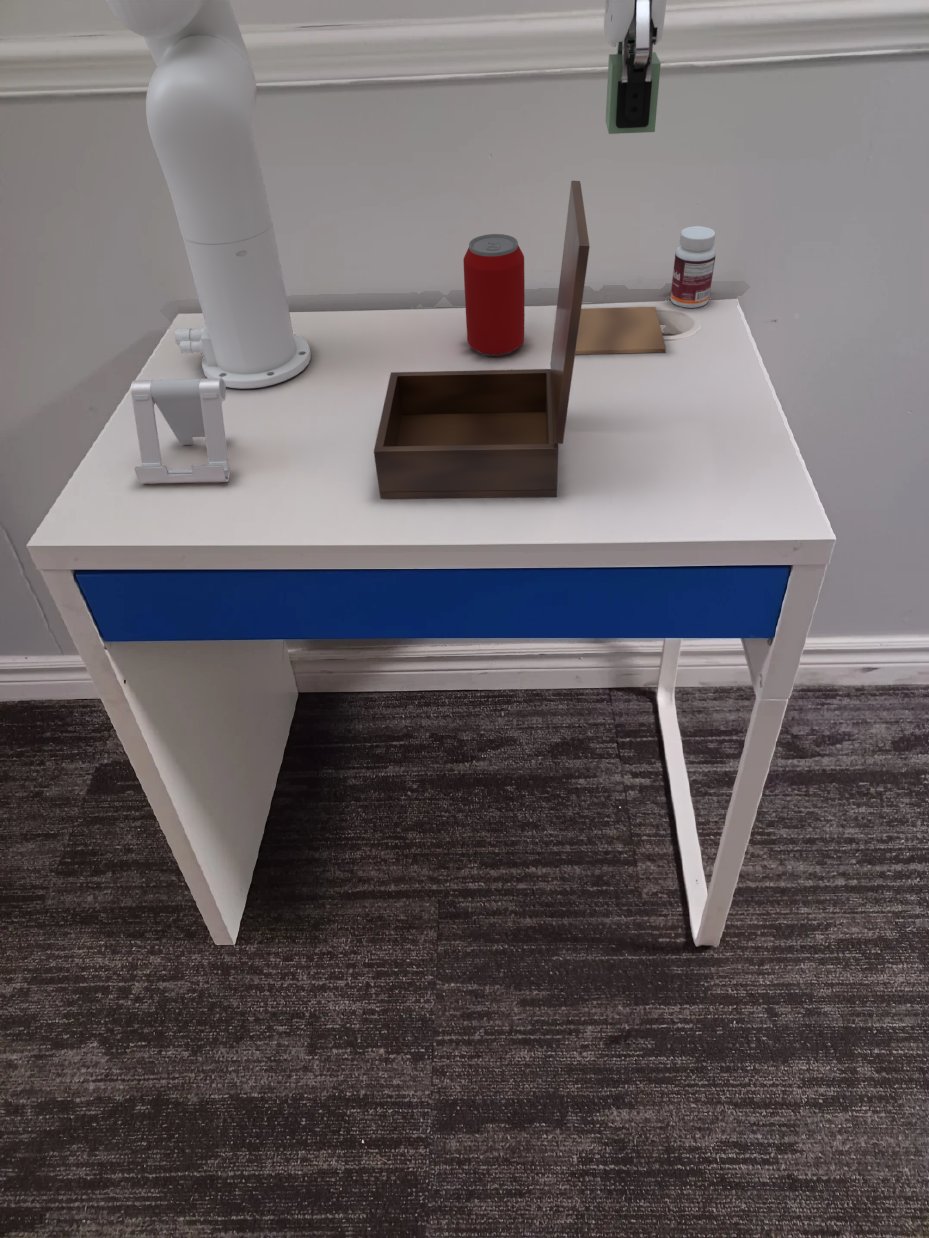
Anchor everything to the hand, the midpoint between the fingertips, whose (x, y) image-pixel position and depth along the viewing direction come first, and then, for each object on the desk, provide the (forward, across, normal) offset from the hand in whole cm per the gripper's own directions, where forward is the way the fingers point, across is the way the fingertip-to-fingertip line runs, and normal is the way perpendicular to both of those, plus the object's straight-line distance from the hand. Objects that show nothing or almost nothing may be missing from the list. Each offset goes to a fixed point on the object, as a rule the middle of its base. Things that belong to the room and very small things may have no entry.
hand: (629, 117), depth 90 cm
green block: (+1, 0, 0) cm, 1 cm away
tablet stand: (+23, +27, -44) cm, 57 cm away
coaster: (+23, 0, 0) cm, 23 cm away
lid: (+9, +26, -7) cm, 28 cm away
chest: (+23, +26, -16) cm, 38 cm away
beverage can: (+23, +3, -14) cm, 27 cm away
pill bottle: (+23, -8, +10) cm, 27 cm away
